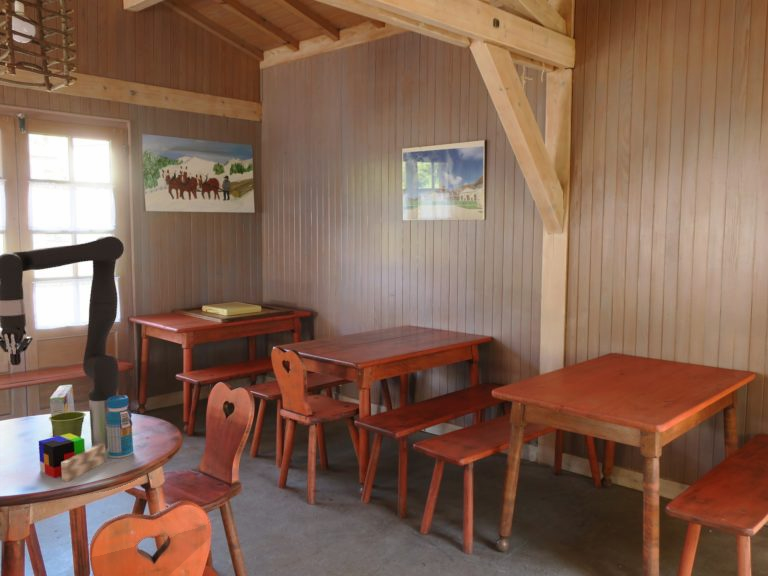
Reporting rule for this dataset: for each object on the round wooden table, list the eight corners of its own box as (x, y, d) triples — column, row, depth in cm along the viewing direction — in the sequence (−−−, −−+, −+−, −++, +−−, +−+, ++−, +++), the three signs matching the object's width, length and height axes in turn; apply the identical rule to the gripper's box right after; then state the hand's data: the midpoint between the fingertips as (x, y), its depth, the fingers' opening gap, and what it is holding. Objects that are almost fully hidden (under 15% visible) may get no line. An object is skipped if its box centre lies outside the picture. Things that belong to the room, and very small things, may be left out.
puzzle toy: (40, 471, 211) (38, 440, 210) (71, 462, 219) (69, 433, 218) (54, 478, 205) (52, 447, 204) (85, 469, 212) (84, 438, 212)
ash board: (100, 461, 219) (99, 443, 219) (105, 461, 219) (104, 443, 218) (62, 481, 202) (60, 462, 201) (67, 481, 201) (66, 462, 201)
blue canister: (105, 460, 220) (102, 401, 219) (109, 451, 228) (106, 395, 227) (132, 457, 223) (129, 399, 221) (135, 449, 231) (132, 393, 229)
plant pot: (73, 452, 228) (71, 421, 227) (43, 451, 231) (41, 419, 230) (94, 442, 240) (92, 411, 239) (65, 440, 242) (64, 410, 241)
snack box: (60, 421, 267) (58, 385, 266) (75, 420, 269) (73, 384, 267) (51, 437, 247) (48, 397, 246) (67, 435, 249) (65, 396, 247)
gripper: (37, 312, 220) (40, 363, 221) (4, 311, 223) (7, 362, 224) (20, 315, 212) (24, 367, 214) (-14, 314, 215) (-10, 366, 217)
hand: (15, 364), depth 219 cm, fingers closed
